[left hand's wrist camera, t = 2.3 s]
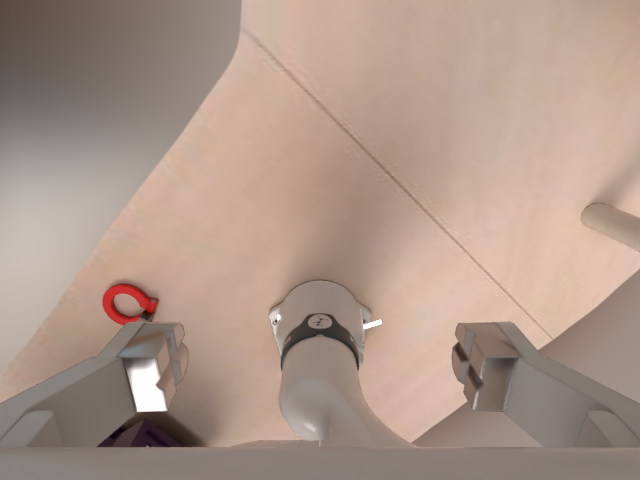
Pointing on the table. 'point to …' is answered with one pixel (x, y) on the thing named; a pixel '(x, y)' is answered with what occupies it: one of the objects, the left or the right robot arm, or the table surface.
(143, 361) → the left robot arm
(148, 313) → the tow hook
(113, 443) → the projector
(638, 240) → the beige cylindrical piece
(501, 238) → the table surface
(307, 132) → the table surface
